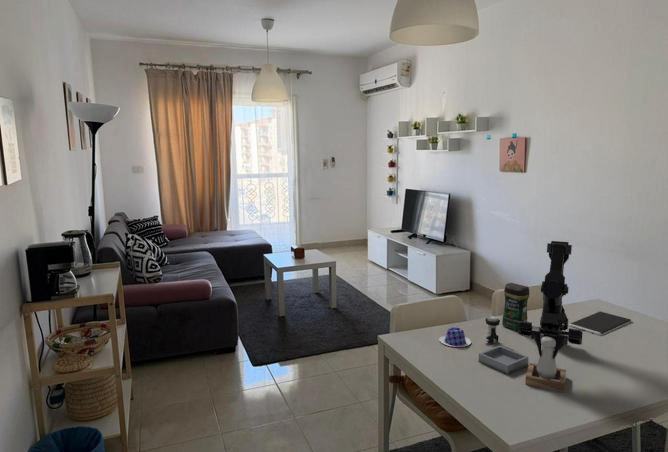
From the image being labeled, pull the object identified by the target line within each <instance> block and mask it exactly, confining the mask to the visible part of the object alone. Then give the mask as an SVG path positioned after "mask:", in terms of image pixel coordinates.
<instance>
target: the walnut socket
mask: <svg viewBox="0 0 668 452" xmlns="http://www.w3.org/2000/svg"><path fill="white" fill-rule="evenodd" d="M537 364H538V363H537ZM537 364H536V363H532V362H528V367H527V371H526V373H525V382H524V383H525V385H527V386H531V387H535V388H536V387H537V388H542V389H546V390H550V391H556V392H560V393H565V388H566V375H567V369H563V368H558V367H556V371H557V372H556V374H555V376H554V378H557V379H559V381H558V380H553V379H550V380H549V379H544V378H541V377H540V376H534V374H537V375H539V374H538V372H537Z"/></svg>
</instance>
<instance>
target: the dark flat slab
mask: <svg viewBox="0 0 668 452" xmlns="http://www.w3.org/2000/svg"><path fill="white" fill-rule="evenodd" d="M631 322H632V319H631V318H627V317H624V316H621V315H616V314H612V313H609V312H605V311H597V312H596V313H593V314H591V315H588V316H586V317H585V316H584V317H583V318H580V319H578V320H575V321H573V322H570V323H568V327H570V328H572V329H577V330H581V331H585V332H586V333H589V334H593V335H595V336H600V337H601V336H603V335H605V334H608V333H610V332H612V331H614V330H616V329H617V330H618V329H620V328H621V327H624V326H625V325H628V324H630V323H631Z"/></svg>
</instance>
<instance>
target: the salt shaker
mask: <svg viewBox="0 0 668 452" xmlns="http://www.w3.org/2000/svg"><path fill="white" fill-rule="evenodd" d="M555 346H556V341H555V339H554V338H551V337H543V336H542V337H541V357H540V356H539V358H538V360H537V361H538V362H537V372H538V374H537V375H538V377H539V378H544V379H549V380H553V379H554V378H555V377H554V376H555V374H556V372H557V371H556V368H557V365H556V364H557V363H556V358H555V359H553V354H554V349H555Z"/></svg>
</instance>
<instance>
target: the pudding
mask: <svg viewBox="0 0 668 452" xmlns="http://www.w3.org/2000/svg"><path fill="white" fill-rule="evenodd" d="M444 339H445V340H444ZM438 340H439V342H441V344H442V345H446V346H448V347H453V348H463V347H468V346H470V345H471V344H472V341H471V339H470V338H469V337H467V336H465V332H464V330H463V329H462V328H461V327H457V326H456V327H453V326H451V327H449V328H448V329H447V331H446V334H445V335H442V336H440V337H439V338H438Z"/></svg>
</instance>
